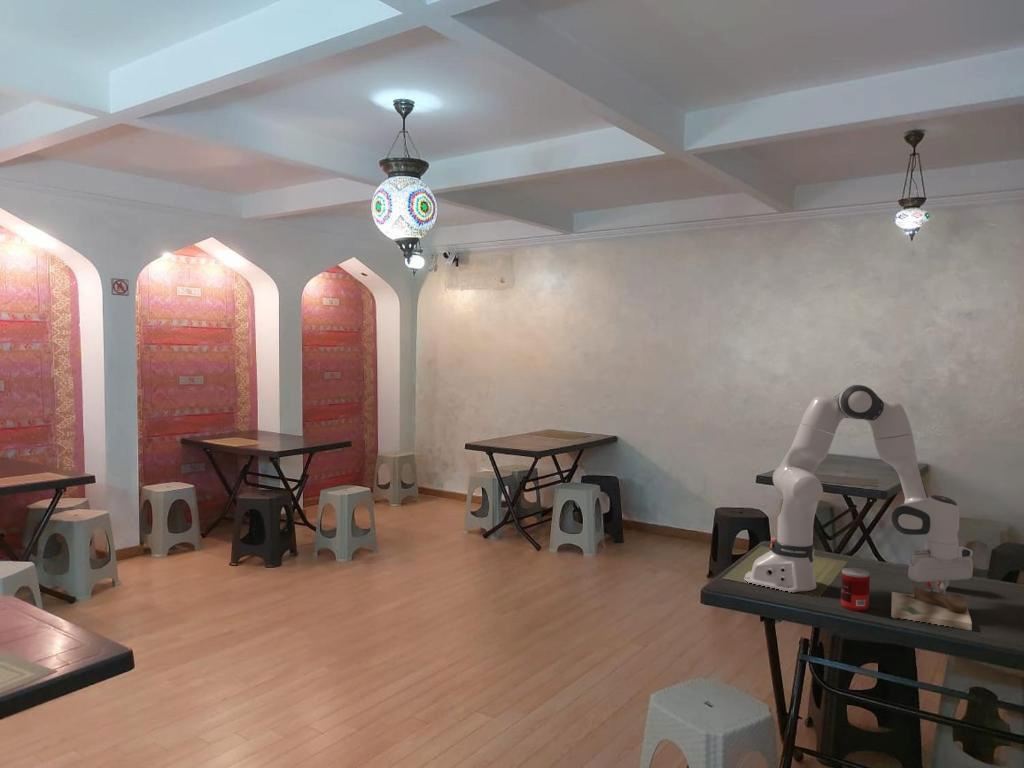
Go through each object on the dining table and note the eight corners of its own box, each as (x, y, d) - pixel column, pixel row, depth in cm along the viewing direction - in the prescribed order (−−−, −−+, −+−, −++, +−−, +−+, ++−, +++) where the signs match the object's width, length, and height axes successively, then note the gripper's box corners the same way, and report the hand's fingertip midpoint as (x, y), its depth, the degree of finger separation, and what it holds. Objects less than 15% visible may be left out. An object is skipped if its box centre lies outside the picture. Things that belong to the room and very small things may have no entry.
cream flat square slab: (891, 617, 215) (891, 610, 215) (891, 598, 232) (891, 591, 232) (971, 630, 206) (972, 623, 206) (965, 609, 223) (966, 602, 223)
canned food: (872, 607, 224) (873, 571, 223) (862, 613, 218) (863, 577, 218) (846, 600, 229) (848, 565, 229) (836, 606, 224) (837, 571, 223)
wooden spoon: (970, 610, 215) (970, 598, 215) (961, 613, 212) (962, 601, 212) (920, 595, 227) (921, 584, 227) (911, 598, 224) (912, 587, 224)
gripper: (919, 554, 220) (917, 599, 220) (977, 551, 224) (975, 595, 225) (904, 548, 226) (902, 592, 227) (961, 545, 230) (958, 588, 231)
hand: (939, 594), depth 226 cm, fingers closed
